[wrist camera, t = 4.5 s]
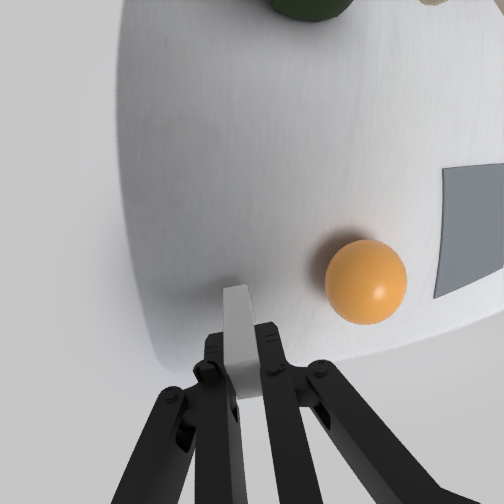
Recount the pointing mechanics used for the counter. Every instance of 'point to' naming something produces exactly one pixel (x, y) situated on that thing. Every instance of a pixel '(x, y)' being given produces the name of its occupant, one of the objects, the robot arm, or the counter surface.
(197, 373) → the robot arm
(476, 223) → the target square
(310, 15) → the character mug
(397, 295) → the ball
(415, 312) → the counter surface
